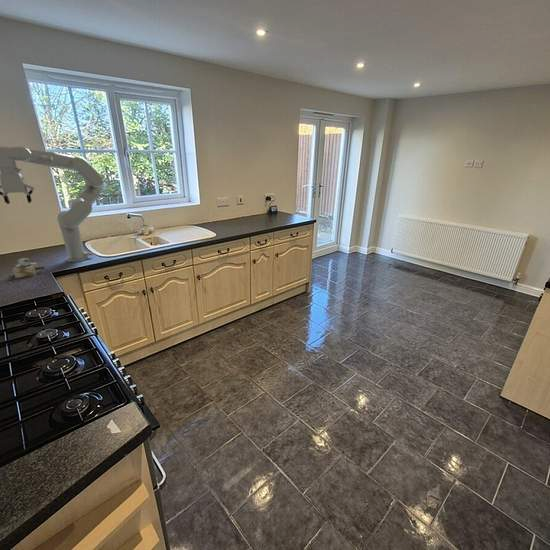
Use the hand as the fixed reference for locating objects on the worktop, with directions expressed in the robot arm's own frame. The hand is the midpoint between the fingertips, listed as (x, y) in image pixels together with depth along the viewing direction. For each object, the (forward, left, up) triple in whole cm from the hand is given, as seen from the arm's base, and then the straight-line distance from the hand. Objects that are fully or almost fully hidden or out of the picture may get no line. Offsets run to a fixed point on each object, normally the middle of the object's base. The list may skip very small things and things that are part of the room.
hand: (19, 203), depth 169 cm
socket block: (+1, +13, -38) cm, 40 cm away
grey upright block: (+3, +13, -38) cm, 40 cm away
